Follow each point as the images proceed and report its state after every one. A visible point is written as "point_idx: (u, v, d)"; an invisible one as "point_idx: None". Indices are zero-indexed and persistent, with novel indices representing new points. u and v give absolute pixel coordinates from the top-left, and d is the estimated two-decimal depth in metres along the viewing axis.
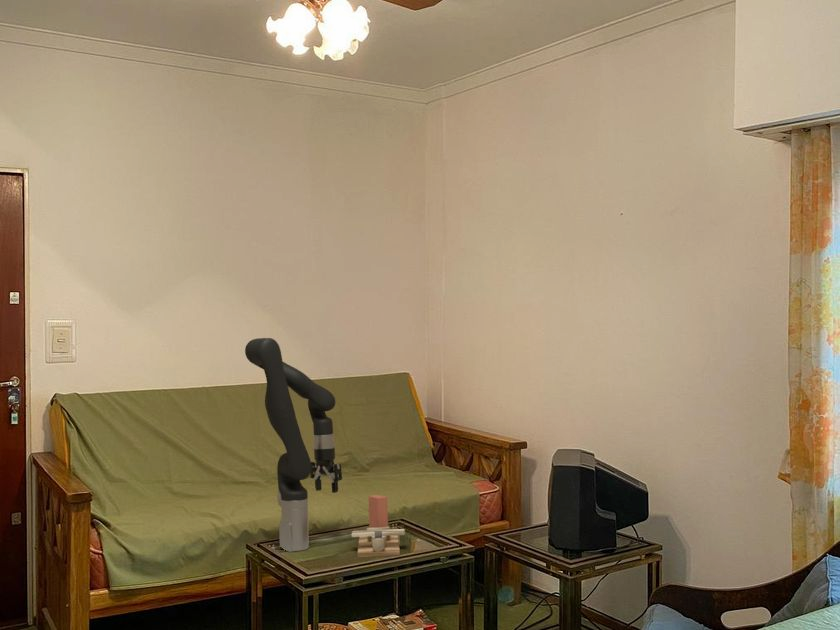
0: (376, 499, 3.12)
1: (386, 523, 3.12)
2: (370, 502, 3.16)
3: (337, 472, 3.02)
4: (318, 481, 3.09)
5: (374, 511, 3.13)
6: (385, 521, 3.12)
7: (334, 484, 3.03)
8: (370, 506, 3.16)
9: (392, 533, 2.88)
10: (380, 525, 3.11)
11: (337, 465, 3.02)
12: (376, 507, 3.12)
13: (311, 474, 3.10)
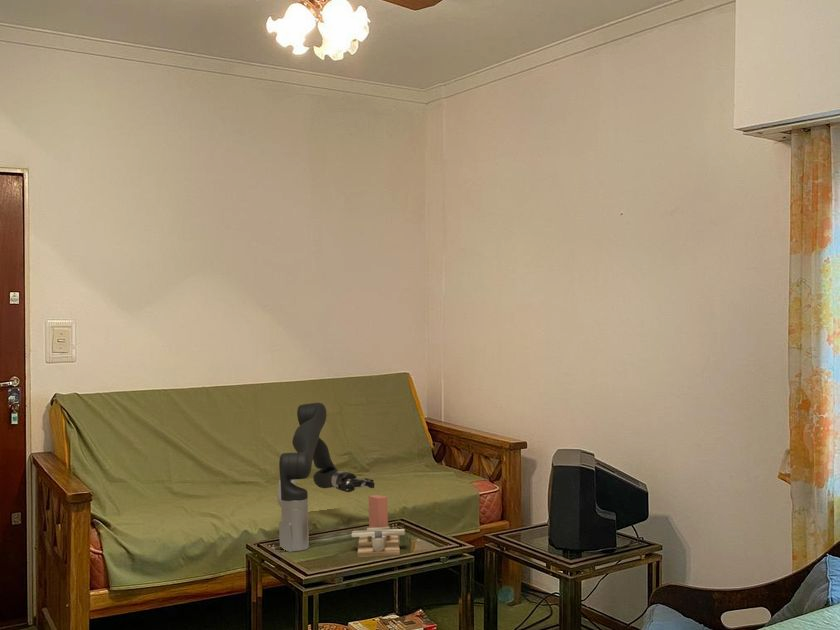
0: (376, 499, 3.12)
1: (386, 523, 3.12)
2: (370, 502, 3.15)
3: None
4: None
5: (374, 511, 3.13)
6: (385, 521, 3.12)
7: None
8: (370, 506, 3.16)
9: (392, 533, 2.88)
10: (380, 525, 3.11)
11: None
12: (376, 507, 3.12)
13: (341, 483, 3.26)
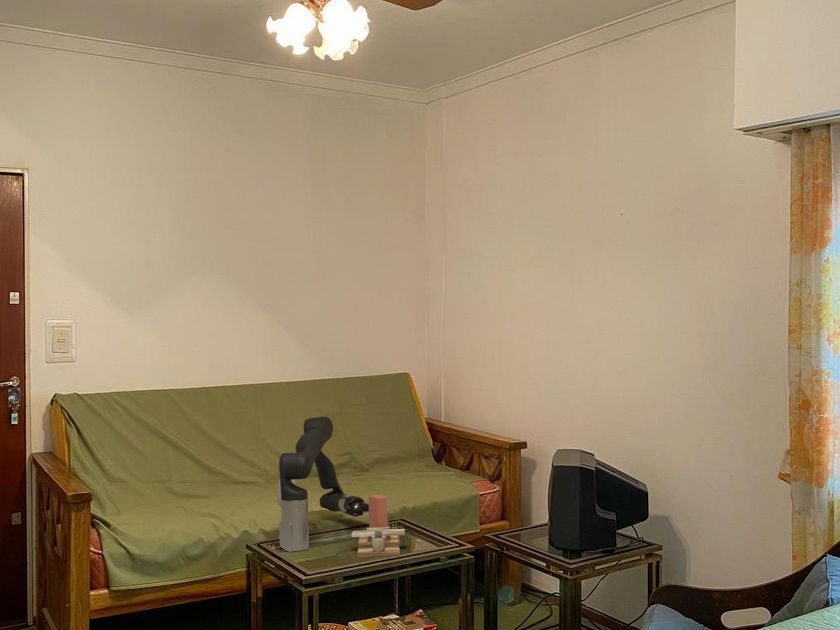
0: (376, 499, 3.12)
1: (386, 523, 3.12)
2: (370, 502, 3.15)
3: None
4: None
5: (374, 511, 3.13)
6: (385, 521, 3.12)
7: None
8: (370, 506, 3.16)
9: (392, 533, 2.88)
10: (380, 525, 3.11)
11: None
12: (376, 507, 3.12)
13: (349, 507, 3.20)
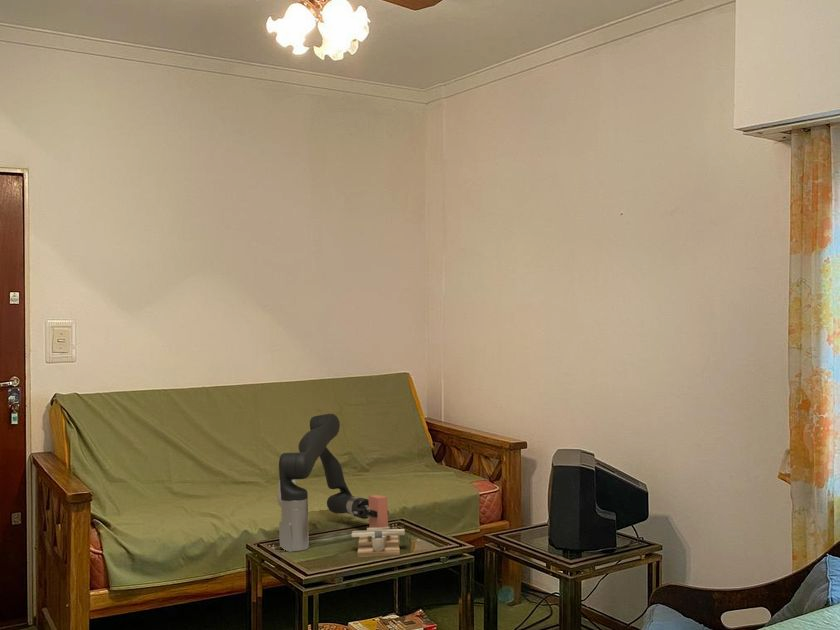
0: (376, 499, 3.12)
1: (386, 523, 3.12)
2: (370, 502, 3.15)
3: None
4: None
5: None
6: (385, 521, 3.12)
7: None
8: (370, 506, 3.16)
9: (392, 533, 2.88)
10: (380, 525, 3.11)
11: None
12: (376, 507, 3.12)
13: (363, 509, 3.15)
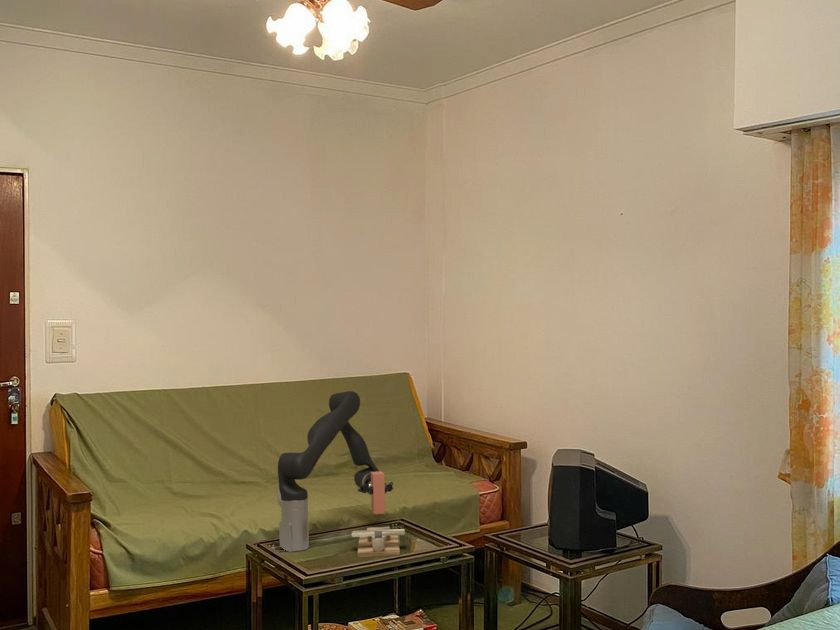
0: (372, 475, 3.04)
1: (383, 500, 3.04)
2: (371, 478, 3.09)
3: (392, 484, 3.12)
4: None
5: None
6: (382, 498, 3.04)
7: (385, 487, 3.08)
8: (371, 483, 3.09)
9: (392, 533, 2.88)
10: (376, 502, 3.03)
11: None
12: (372, 483, 3.05)
13: (364, 485, 3.09)
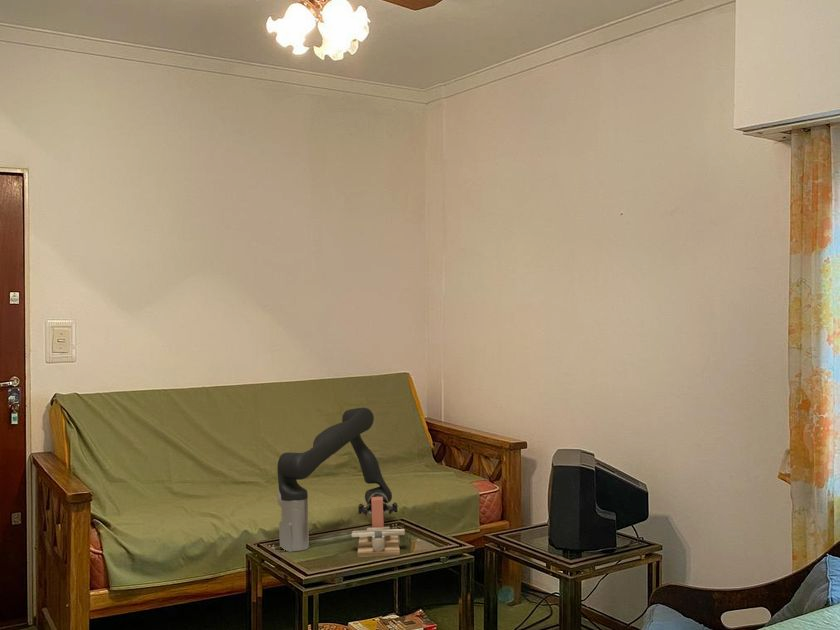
0: None
1: None
2: None
3: (397, 505, 3.10)
4: None
5: None
6: (380, 525, 3.00)
7: (391, 507, 3.05)
8: None
9: (392, 533, 2.88)
10: None
11: None
12: None
13: (360, 506, 3.07)
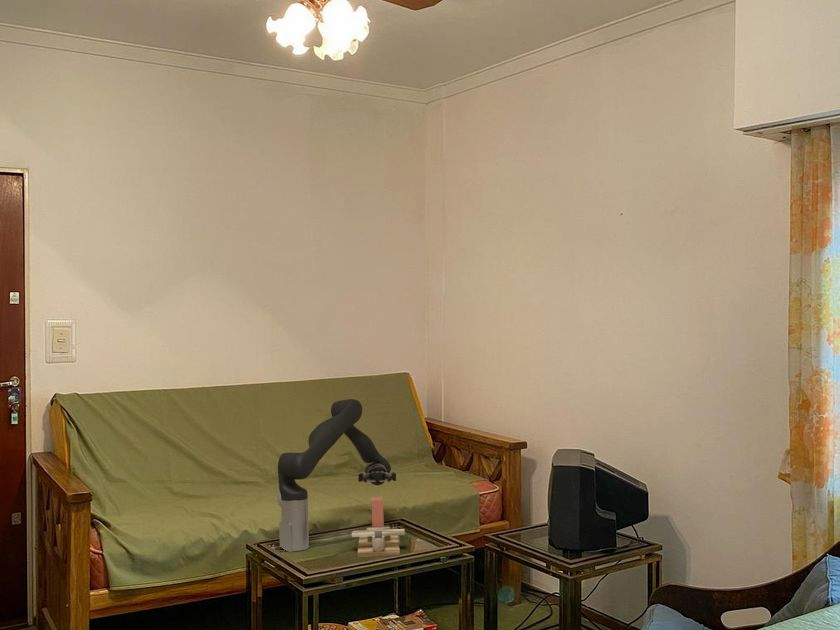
0: None
1: None
2: None
3: (395, 474, 3.23)
4: None
5: None
6: (380, 525, 3.00)
7: (390, 476, 3.18)
8: None
9: (392, 533, 2.88)
10: None
11: None
12: None
13: None
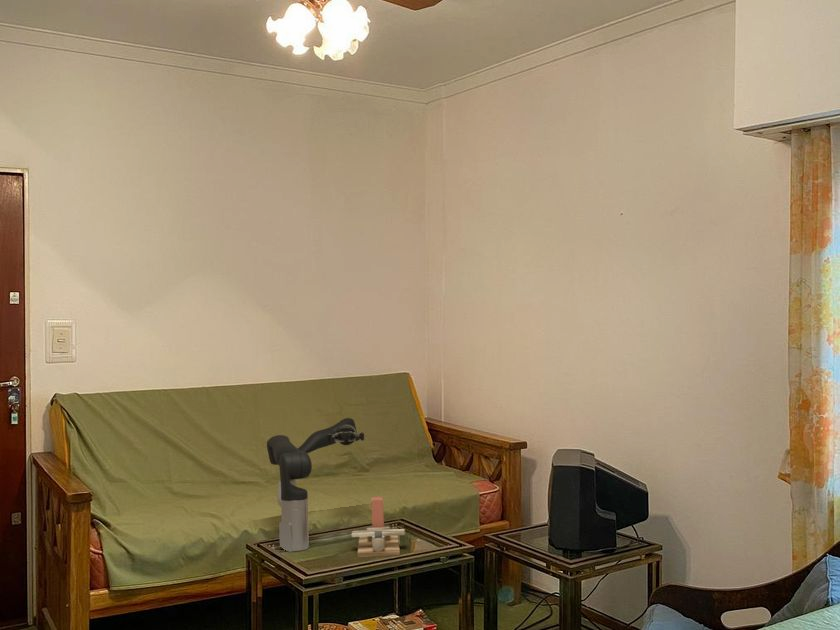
0: None
1: None
2: None
3: (363, 434, 3.30)
4: None
5: None
6: (380, 525, 3.00)
7: (358, 435, 3.25)
8: None
9: (392, 533, 2.88)
10: None
11: None
12: None
13: (329, 434, 3.28)
